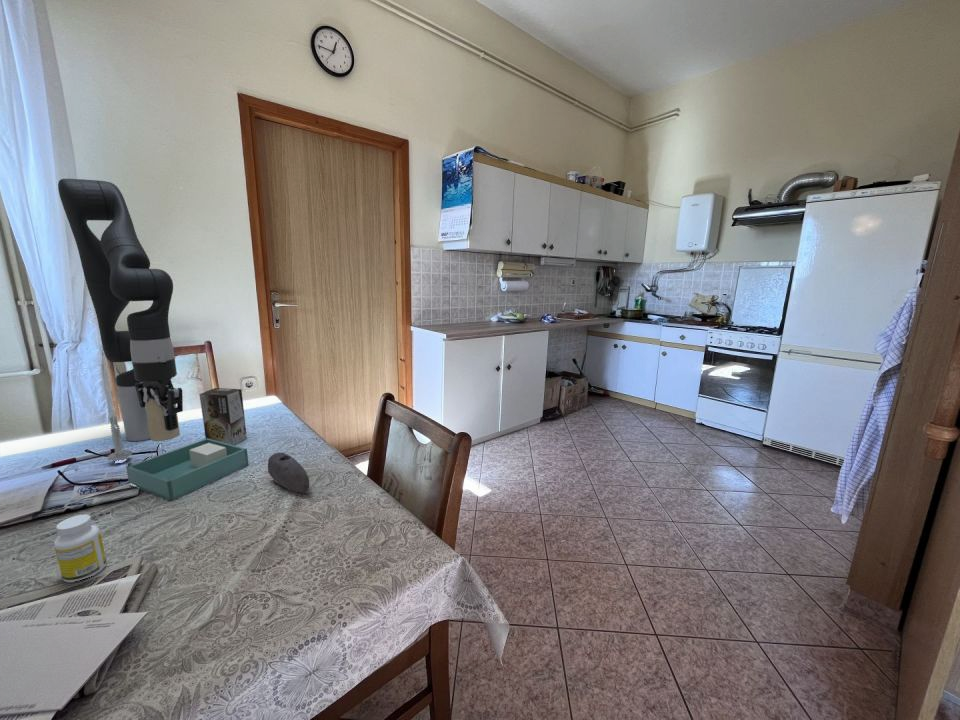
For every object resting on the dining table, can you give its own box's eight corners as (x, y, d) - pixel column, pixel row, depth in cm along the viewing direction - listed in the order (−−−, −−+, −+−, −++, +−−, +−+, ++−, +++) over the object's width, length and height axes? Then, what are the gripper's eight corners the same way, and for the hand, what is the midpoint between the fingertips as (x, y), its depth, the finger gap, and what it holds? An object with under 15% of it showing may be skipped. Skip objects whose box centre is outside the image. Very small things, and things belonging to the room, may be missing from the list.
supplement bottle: (82, 561, 69) (72, 512, 67) (115, 560, 69) (105, 511, 67) (52, 584, 63) (39, 532, 61) (88, 583, 64) (76, 531, 62)
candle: (185, 434, 94) (180, 395, 92) (160, 443, 89) (154, 401, 87) (170, 431, 96) (164, 392, 94) (144, 439, 91) (138, 398, 88)
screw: (105, 463, 103) (127, 456, 108) (114, 467, 101) (136, 460, 106) (96, 417, 101) (119, 412, 105) (105, 421, 99) (129, 415, 103)
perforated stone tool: (317, 493, 92) (315, 466, 91) (296, 502, 88) (293, 474, 87) (287, 472, 101) (285, 448, 100) (266, 480, 97) (264, 455, 96)
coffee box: (248, 437, 122) (242, 388, 118) (233, 446, 116) (227, 394, 112) (221, 436, 123) (215, 387, 119) (205, 444, 116) (198, 393, 113)
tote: (129, 485, 93) (126, 467, 92) (209, 453, 110) (207, 438, 109) (170, 501, 87) (167, 481, 86) (248, 465, 104) (246, 448, 103)
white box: (191, 465, 102) (189, 449, 101) (210, 457, 106) (208, 442, 105) (209, 471, 99) (206, 455, 98) (227, 463, 104) (226, 447, 103)
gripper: (115, 357, 87) (127, 427, 91) (154, 364, 82) (165, 438, 86) (153, 352, 94) (163, 417, 98) (191, 358, 89) (200, 427, 92)
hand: (164, 427), depth 92 cm, fingers closed on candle, 5 cm apart
